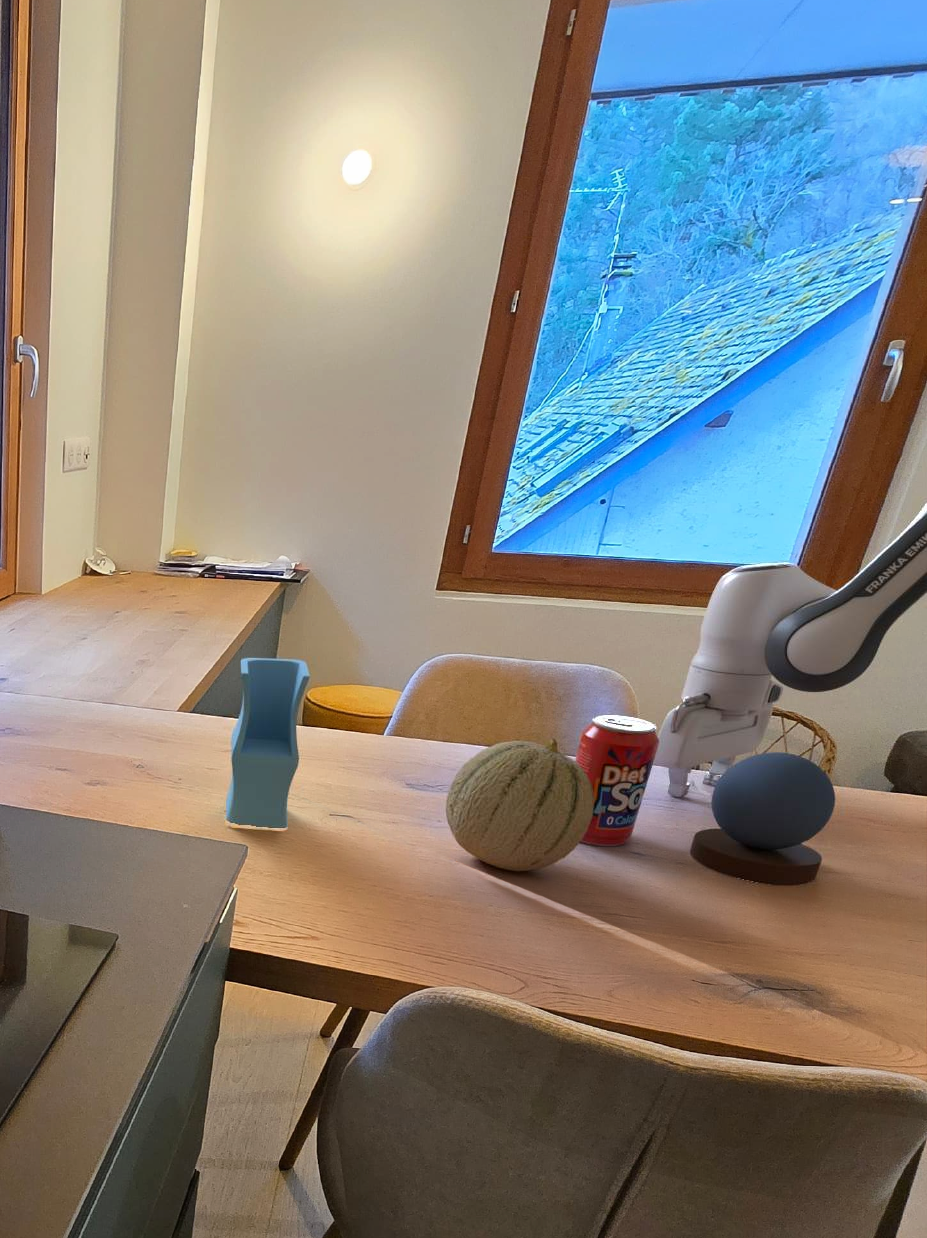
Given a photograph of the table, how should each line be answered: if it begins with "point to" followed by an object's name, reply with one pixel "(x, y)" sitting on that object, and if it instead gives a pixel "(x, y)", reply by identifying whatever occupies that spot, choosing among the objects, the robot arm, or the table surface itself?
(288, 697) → the vase
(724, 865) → the blue egg sculpture
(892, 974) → the table surface
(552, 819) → the cantaloupe
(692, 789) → the small white plastic part
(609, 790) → the soda can
